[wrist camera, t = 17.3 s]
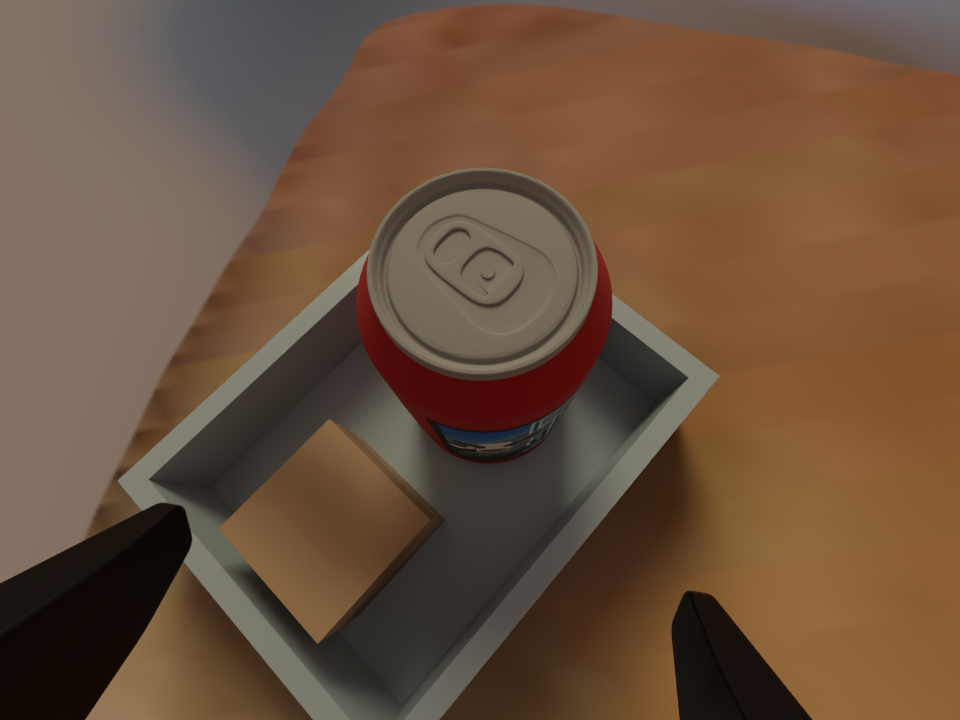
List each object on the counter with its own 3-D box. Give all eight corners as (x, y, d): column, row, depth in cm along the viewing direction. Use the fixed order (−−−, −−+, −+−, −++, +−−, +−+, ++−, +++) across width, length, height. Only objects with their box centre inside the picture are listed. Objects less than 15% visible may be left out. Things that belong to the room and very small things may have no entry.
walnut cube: (359, 615, 20) (317, 643, 16) (280, 526, 21) (218, 528, 17) (445, 519, 21) (430, 519, 17) (364, 440, 22) (329, 418, 18)
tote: (405, 729, 20) (376, 797, 15) (196, 489, 23) (117, 480, 18) (674, 405, 23) (719, 375, 19) (461, 235, 26) (453, 172, 22)
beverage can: (499, 499, 21) (502, 475, 10) (384, 401, 23) (274, 283, 12) (592, 381, 23) (688, 244, 12) (479, 296, 24) (464, 99, 13)
